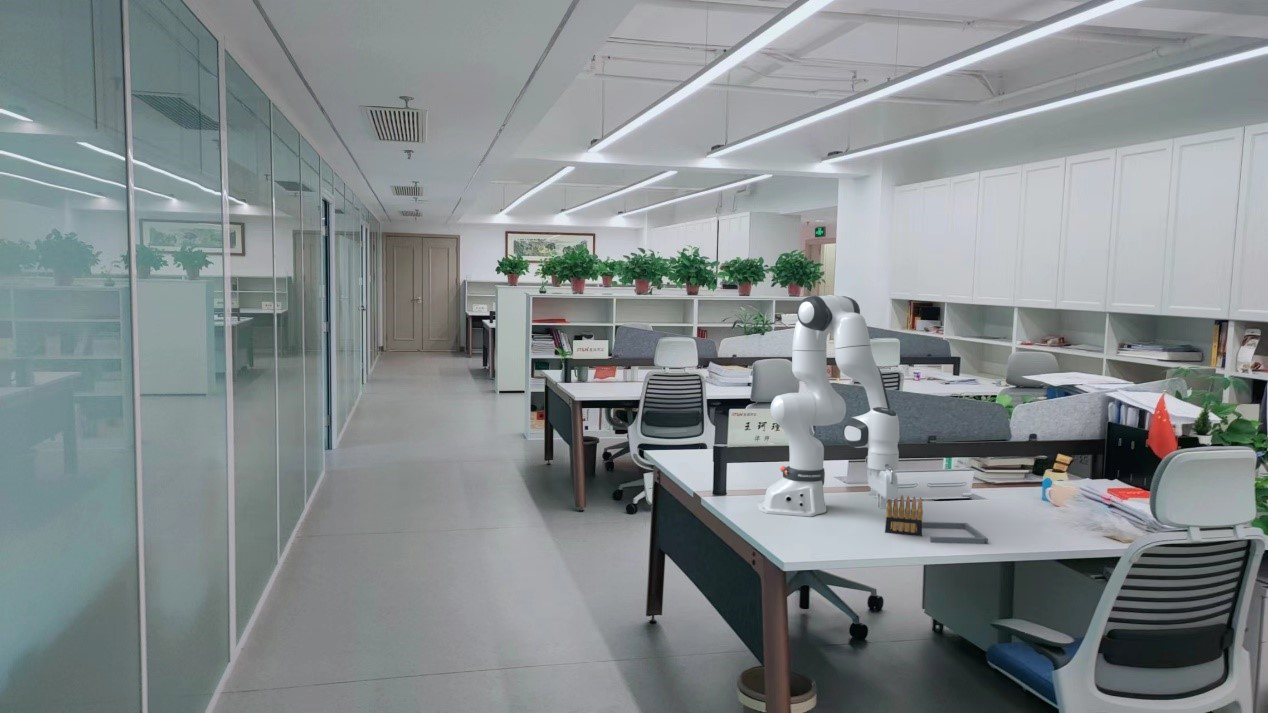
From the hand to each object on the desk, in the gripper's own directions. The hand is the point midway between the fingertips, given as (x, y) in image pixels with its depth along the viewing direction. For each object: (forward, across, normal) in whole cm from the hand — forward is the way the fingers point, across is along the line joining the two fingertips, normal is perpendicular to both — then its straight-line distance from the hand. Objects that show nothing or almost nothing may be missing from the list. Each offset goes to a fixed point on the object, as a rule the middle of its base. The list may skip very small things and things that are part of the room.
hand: (881, 508), depth 258 cm
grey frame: (+8, +1, -21) cm, 22 cm away
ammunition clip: (+8, +1, -7) cm, 11 cm away
